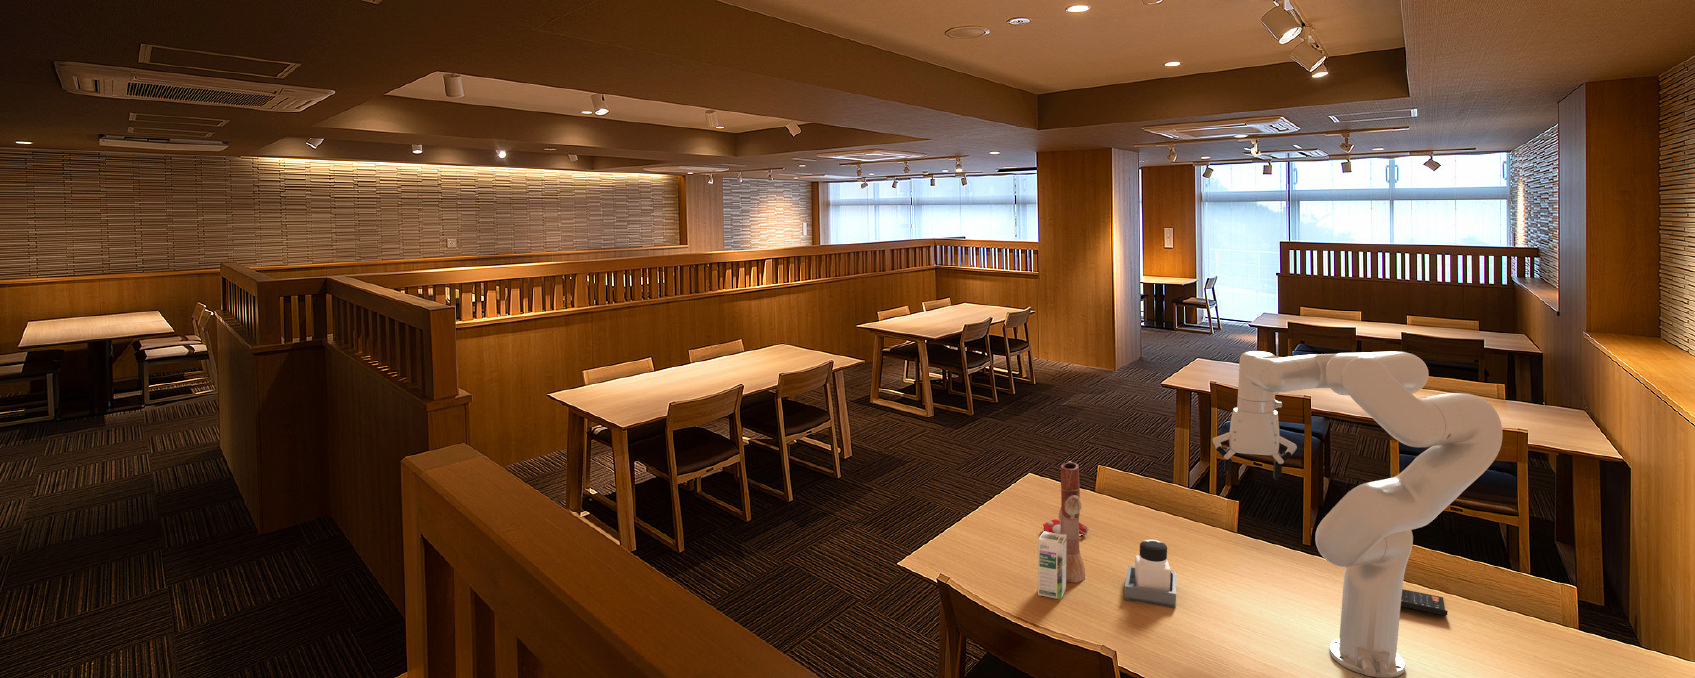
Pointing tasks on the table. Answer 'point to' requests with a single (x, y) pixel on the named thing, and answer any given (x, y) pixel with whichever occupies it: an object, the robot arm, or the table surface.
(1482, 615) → the table surface
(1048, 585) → the syrup box
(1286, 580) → the table surface
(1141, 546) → the medicine bottle
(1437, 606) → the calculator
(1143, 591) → the bin
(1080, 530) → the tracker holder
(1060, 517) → the vase
